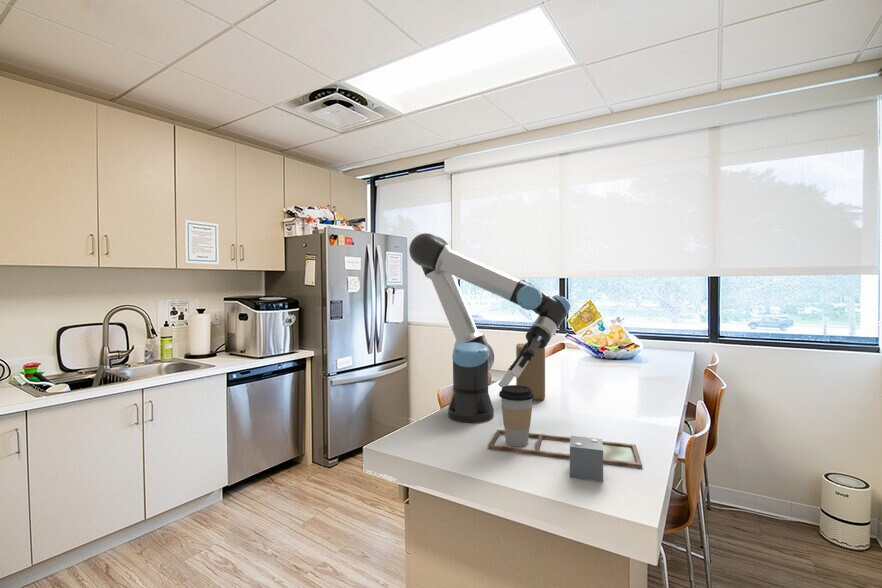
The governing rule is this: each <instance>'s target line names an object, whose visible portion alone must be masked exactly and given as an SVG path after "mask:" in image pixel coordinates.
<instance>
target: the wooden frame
mask: <svg viewBox="0 0 882 588" xmlns="http://www.w3.org/2000/svg"><path fill="white" fill-rule="evenodd" d="M500 435H505V429H497V430H496V432H495V433H494V435H493V437H492V439H491V440H490V442H489V444H488V445H487V449H488V450H494V451H502V452H510V453H517V454H525V455H526V454H527V455H534V456H540V457H541V456H542V457H548V458H549V457H550V458H558V459H565V460H570V453H569V454H567V453H562V452H561V453H560V452H552V451H544V450H541V446H542V443H543V439H545V440H550V441H551V440H554V441H562V442H569V443H570V439H571V436H569V437H568V436H559V435H552V434H551V435H550V434H544V433H542V434H541V433H534V432H533V433H532V432H529V437H528V438H536V439H537V440H536V441H537V442H536V445H535V448H534V449H527V448H522V447H513V446H504V445H495V444H496V442H497V441H498V439H499V438H500ZM602 444H603V465H604V464H605V465H613V466H618V467H619V466H620V467H627V466H629V467H630V468H635V467H638V468H637V469H643V463H642V459H641V457H640V454H639V450H638V447H637V444H633V443H625V442H615V441H605V440H602ZM629 467H628V468H629Z"/></svg>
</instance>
